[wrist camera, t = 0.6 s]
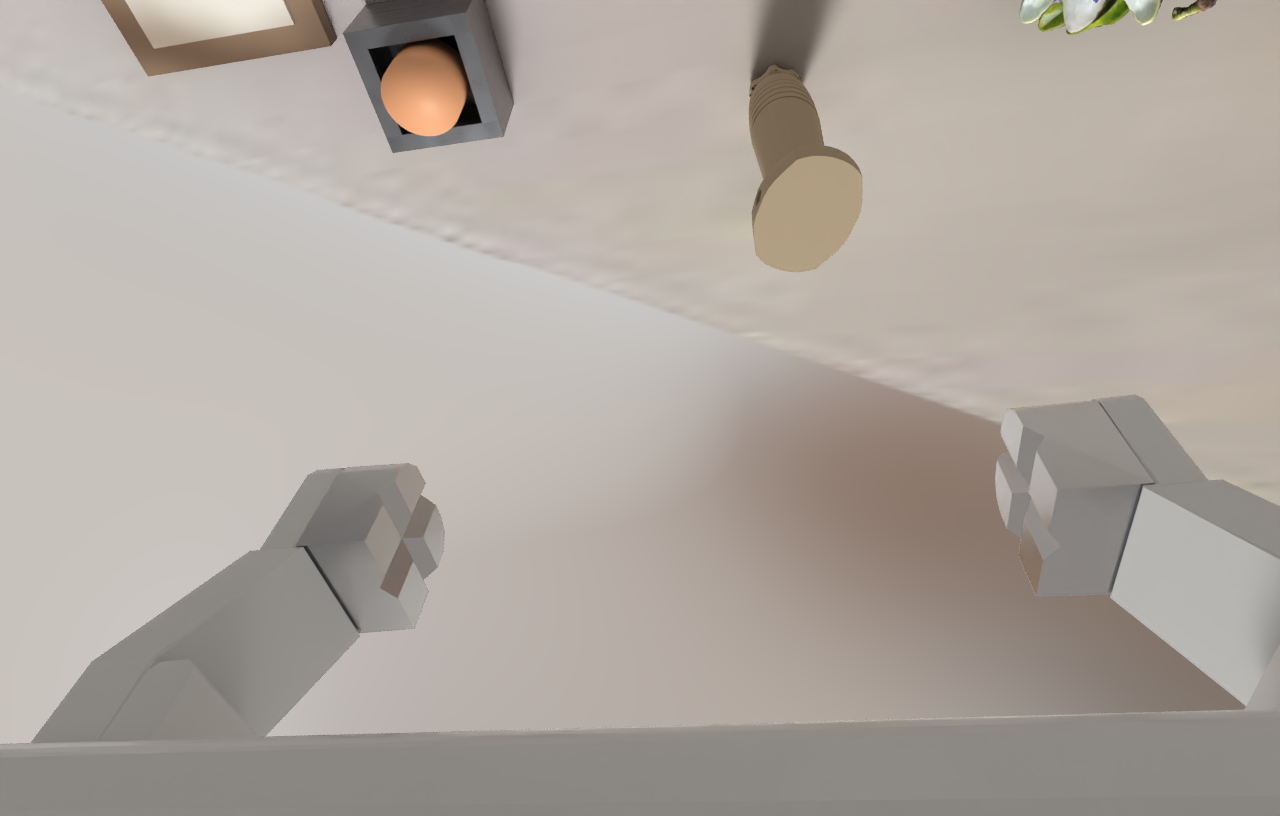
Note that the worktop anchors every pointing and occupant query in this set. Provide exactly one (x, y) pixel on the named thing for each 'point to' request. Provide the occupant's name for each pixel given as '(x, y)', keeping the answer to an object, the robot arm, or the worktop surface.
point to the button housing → (457, 15)
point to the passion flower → (1097, 12)
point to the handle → (798, 177)
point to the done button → (425, 87)
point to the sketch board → (217, 30)
